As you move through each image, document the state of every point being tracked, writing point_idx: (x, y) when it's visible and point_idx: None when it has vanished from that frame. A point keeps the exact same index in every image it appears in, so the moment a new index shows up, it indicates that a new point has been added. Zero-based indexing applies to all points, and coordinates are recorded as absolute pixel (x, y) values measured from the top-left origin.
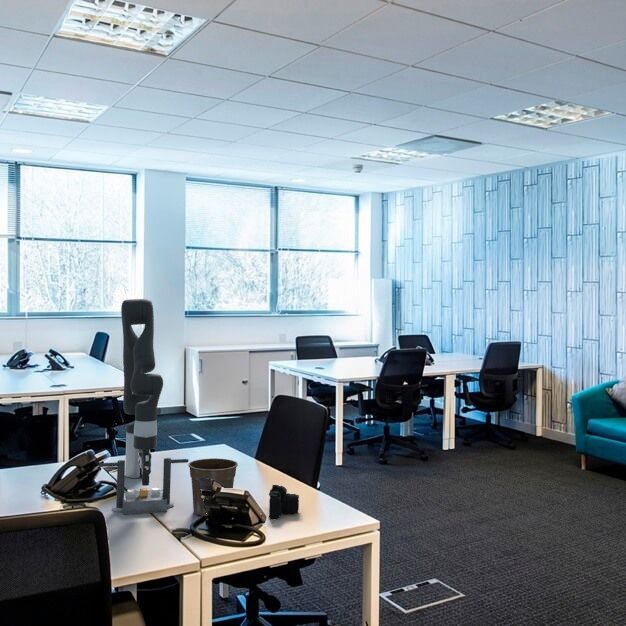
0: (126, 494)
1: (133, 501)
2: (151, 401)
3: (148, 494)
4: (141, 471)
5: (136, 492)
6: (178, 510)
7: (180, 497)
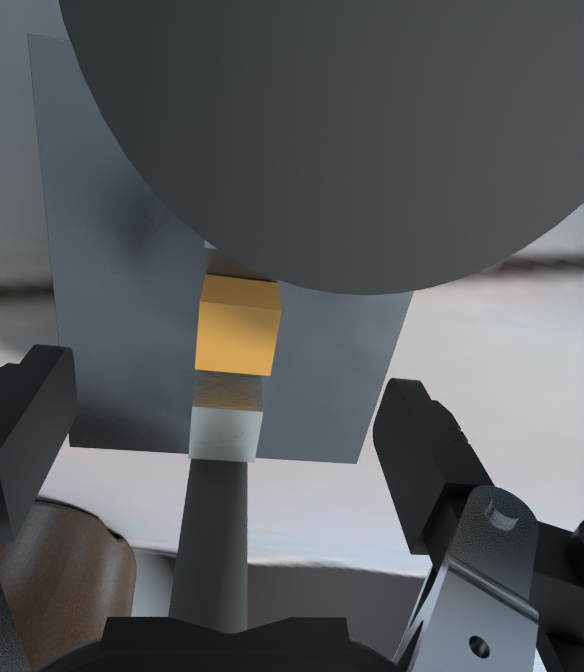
0: None
1: (50, 168)
2: None
3: None
4: (414, 459)
5: None
6: None
7: (359, 495)
